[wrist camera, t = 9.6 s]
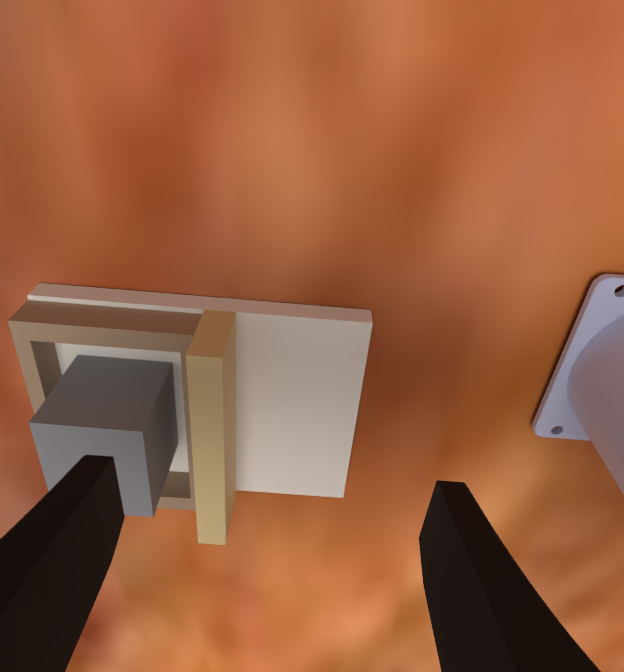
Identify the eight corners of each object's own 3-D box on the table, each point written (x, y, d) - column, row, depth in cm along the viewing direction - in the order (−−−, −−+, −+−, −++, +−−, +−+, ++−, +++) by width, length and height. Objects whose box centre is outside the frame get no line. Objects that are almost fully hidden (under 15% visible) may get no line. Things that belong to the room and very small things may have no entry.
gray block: (178, 442, 23) (153, 517, 20) (93, 436, 23) (54, 509, 20) (172, 362, 21) (142, 431, 17) (77, 354, 21) (29, 422, 17)
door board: (371, 309, 20) (379, 370, 17) (342, 481, 26) (344, 553, 22) (39, 282, 20) (-19, 339, 17) (82, 462, 25) (44, 532, 22)
